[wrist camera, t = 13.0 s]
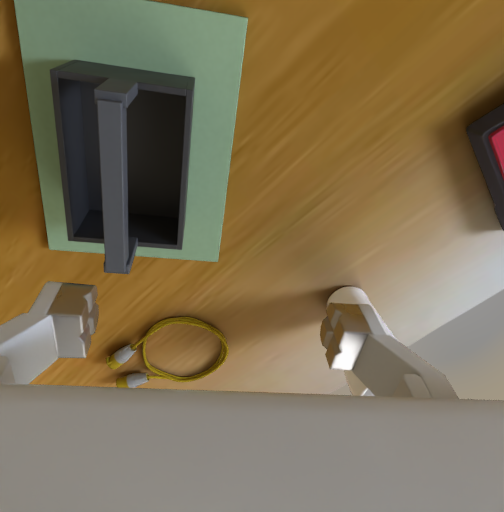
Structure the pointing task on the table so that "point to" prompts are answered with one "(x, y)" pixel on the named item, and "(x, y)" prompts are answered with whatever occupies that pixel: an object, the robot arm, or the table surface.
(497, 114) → the calculator
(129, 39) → the desk mat
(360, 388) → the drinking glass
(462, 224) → the table surface
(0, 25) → the table surface
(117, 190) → the caddy bin
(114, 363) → the extension cord
